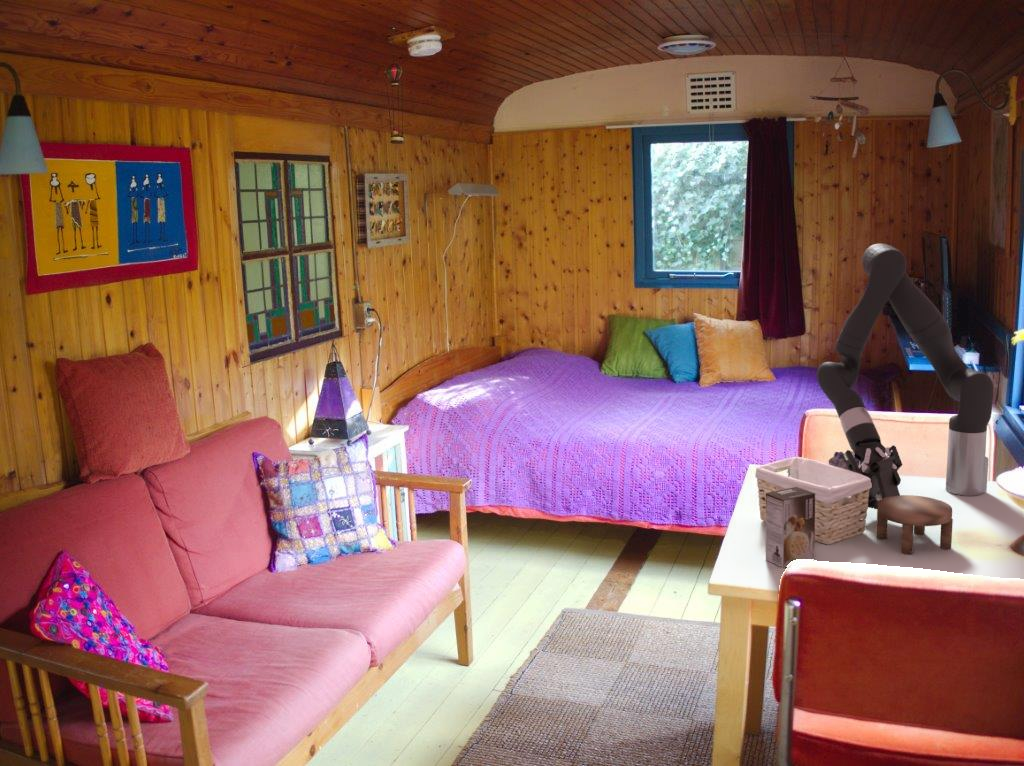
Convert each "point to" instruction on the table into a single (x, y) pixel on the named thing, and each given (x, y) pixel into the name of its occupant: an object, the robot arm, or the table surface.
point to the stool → (914, 518)
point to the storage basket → (821, 494)
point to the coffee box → (790, 525)
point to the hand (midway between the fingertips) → (884, 486)
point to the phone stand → (881, 481)
